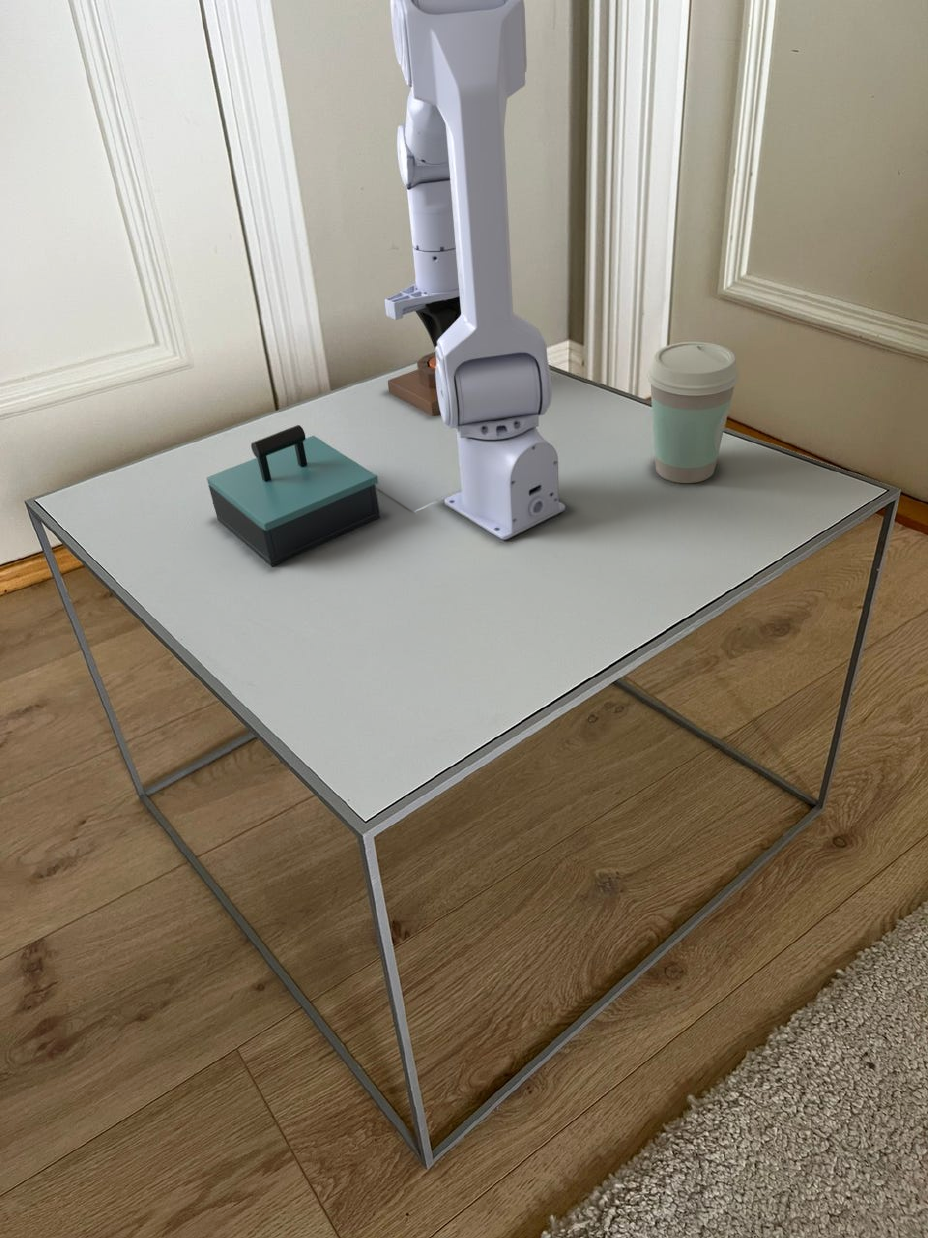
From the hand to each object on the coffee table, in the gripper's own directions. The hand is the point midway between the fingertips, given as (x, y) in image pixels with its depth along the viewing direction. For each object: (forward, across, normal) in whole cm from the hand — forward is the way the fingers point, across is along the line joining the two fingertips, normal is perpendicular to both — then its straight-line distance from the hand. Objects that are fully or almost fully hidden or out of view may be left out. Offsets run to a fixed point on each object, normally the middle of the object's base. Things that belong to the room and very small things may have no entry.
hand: (447, 360), depth 113 cm
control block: (+4, 0, 0) cm, 4 cm away
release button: (+2, 0, 0) cm, 2 cm away
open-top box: (+4, +29, +13) cm, 32 cm away
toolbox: (-1, +29, +13) cm, 32 cm away
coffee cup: (+4, -5, +33) cm, 34 cm away
